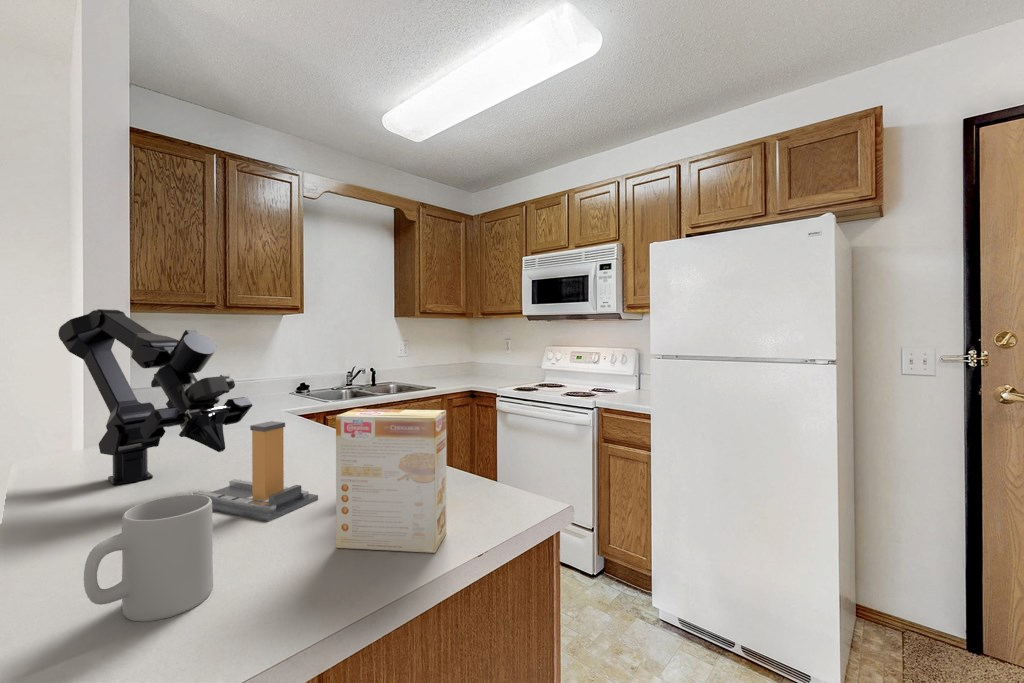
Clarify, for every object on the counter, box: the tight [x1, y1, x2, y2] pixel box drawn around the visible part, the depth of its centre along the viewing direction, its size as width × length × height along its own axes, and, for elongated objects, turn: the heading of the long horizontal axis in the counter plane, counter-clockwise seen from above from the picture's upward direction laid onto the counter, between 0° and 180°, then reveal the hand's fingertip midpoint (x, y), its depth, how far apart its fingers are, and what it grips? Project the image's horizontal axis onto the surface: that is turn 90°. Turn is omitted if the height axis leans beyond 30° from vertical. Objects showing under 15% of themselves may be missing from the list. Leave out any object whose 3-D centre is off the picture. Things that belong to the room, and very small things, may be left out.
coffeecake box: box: [335, 408, 447, 554], centre depth 70 cm, size 15×7×20 cm, turn 84°
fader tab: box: [247, 420, 286, 503], centre depth 84 cm, size 5×5×14 cm
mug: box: [83, 494, 214, 622], centre depth 52 cm, size 12×8×11 cm
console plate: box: [192, 479, 319, 522], centre depth 85 cm, size 20×11×3 cm, turn 69°
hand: (222, 450), depth 88 cm, fingers closed
